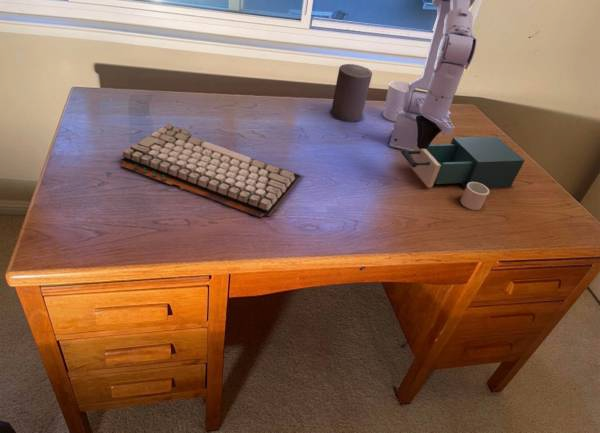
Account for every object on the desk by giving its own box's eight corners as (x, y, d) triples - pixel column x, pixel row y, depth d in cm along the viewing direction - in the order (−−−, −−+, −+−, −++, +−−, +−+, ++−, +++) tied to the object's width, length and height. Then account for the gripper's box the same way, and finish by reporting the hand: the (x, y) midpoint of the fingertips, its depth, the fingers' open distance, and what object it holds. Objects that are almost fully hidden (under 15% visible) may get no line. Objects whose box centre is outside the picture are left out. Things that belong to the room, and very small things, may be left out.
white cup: (407, 115, 137) (417, 85, 131) (404, 125, 131) (413, 94, 125) (383, 108, 138) (391, 78, 132) (378, 118, 132) (387, 87, 126)
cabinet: (465, 189, 107) (478, 162, 102) (442, 164, 116) (452, 137, 111) (510, 187, 111) (525, 160, 106) (484, 162, 120) (497, 136, 114)
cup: (460, 206, 101) (467, 191, 98) (459, 194, 105) (466, 179, 102) (482, 212, 101) (490, 197, 98) (481, 200, 105) (488, 184, 102)
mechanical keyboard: (301, 176, 102) (302, 164, 100) (266, 222, 88) (268, 209, 86) (164, 131, 110) (163, 119, 108) (113, 166, 96) (110, 153, 94)
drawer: (409, 188, 103) (417, 166, 99) (391, 164, 110) (398, 142, 106) (471, 185, 108) (481, 163, 104) (450, 162, 115) (458, 141, 111)
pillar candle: (324, 111, 131) (332, 62, 122) (344, 104, 137) (354, 57, 128) (348, 124, 126) (359, 74, 117) (368, 116, 132) (380, 68, 123)
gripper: (475, 108, 89) (452, 163, 98) (440, 79, 100) (422, 131, 108) (445, 108, 87) (424, 164, 96) (413, 78, 98) (397, 132, 107)
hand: (421, 147), depth 102 cm, fingers closed
